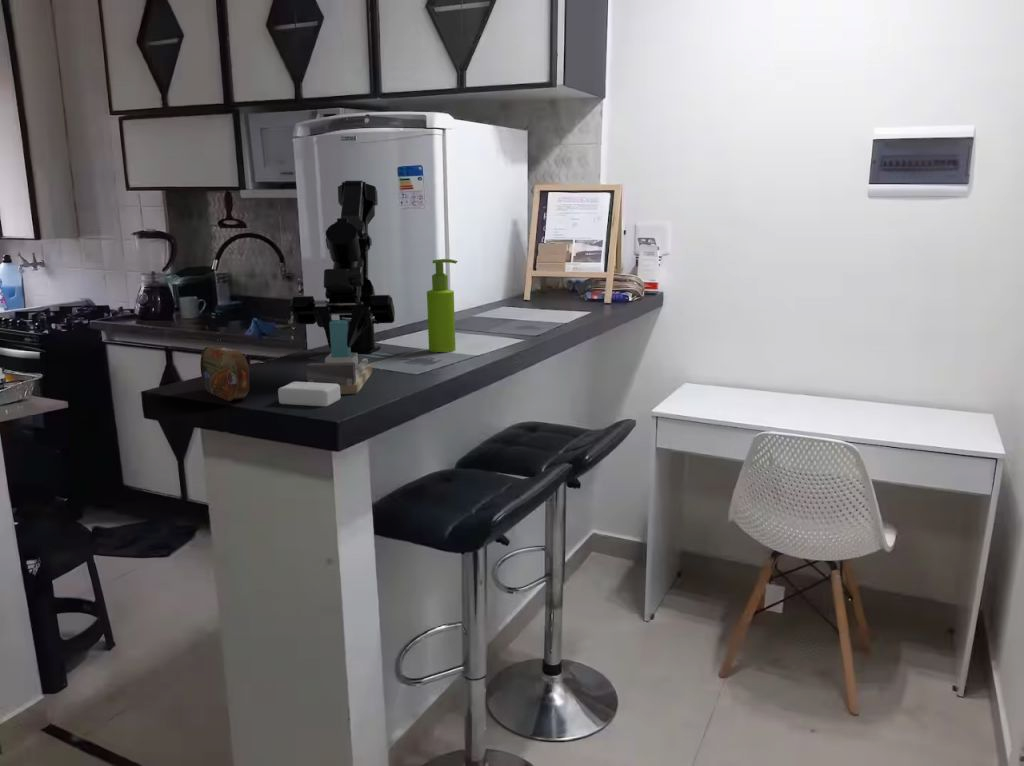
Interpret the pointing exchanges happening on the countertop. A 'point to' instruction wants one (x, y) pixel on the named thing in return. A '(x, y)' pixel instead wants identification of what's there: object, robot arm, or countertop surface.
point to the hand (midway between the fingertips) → (339, 346)
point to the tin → (225, 373)
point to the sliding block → (340, 344)
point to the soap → (309, 393)
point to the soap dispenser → (441, 311)
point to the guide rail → (340, 375)
